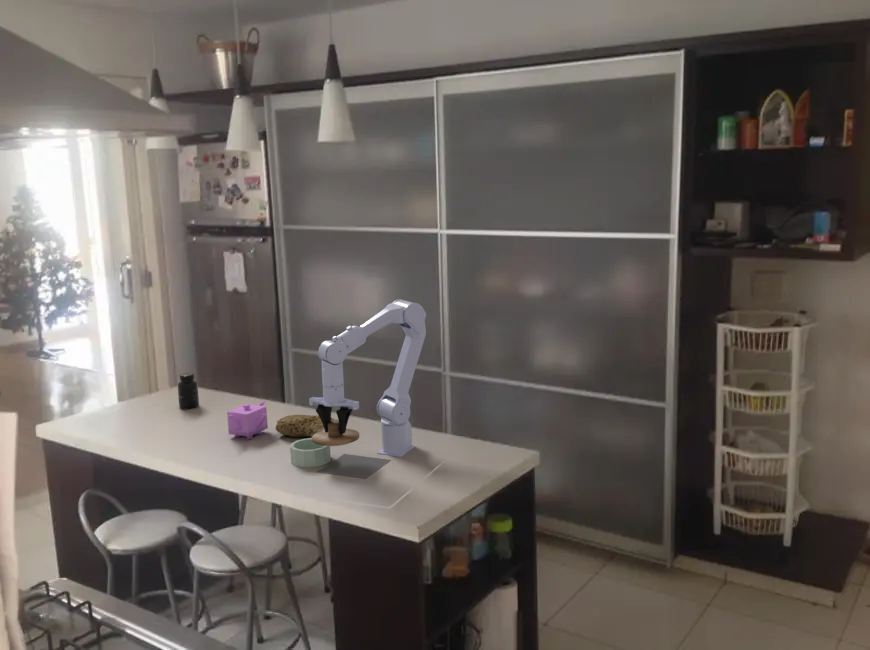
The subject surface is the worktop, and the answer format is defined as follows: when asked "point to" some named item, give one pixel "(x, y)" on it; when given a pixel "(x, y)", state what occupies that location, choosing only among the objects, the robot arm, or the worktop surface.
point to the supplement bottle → (188, 391)
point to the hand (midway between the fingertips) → (335, 432)
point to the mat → (354, 466)
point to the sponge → (300, 425)
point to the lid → (335, 436)
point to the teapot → (247, 420)
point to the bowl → (309, 453)
